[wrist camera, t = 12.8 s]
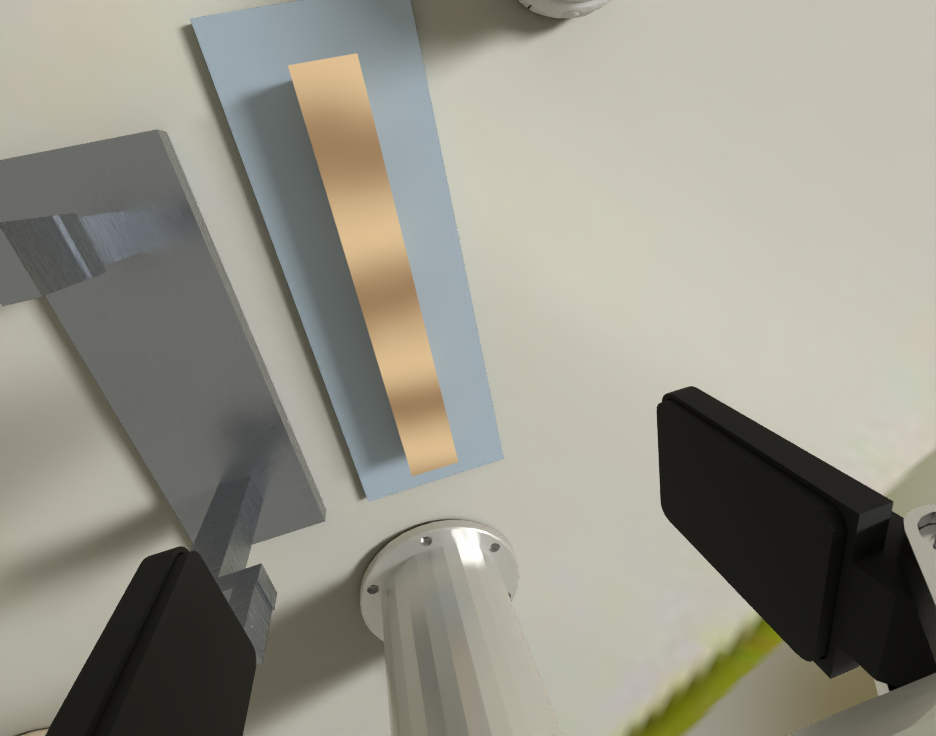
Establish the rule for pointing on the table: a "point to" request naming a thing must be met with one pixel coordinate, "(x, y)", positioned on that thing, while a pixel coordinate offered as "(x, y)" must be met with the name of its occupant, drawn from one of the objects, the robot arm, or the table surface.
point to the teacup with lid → (36, 733)
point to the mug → (563, 7)
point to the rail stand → (162, 345)
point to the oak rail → (375, 251)
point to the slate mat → (314, 229)
